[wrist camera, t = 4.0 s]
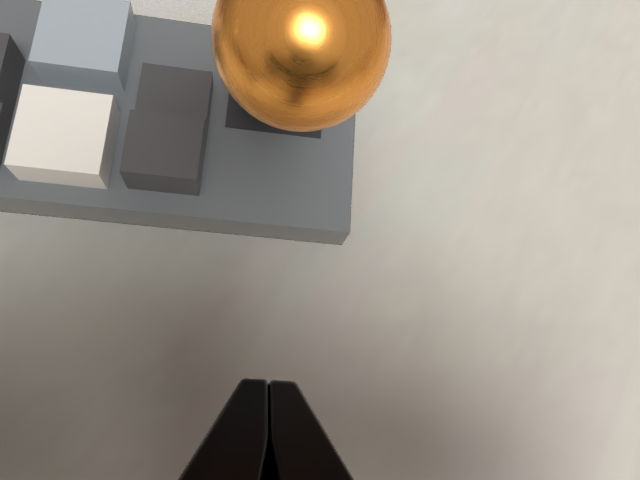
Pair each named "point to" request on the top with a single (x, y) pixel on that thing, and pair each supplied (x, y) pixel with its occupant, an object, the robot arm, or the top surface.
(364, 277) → the top surface
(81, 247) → the top surface
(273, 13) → the orange knob lever
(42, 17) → the panel
